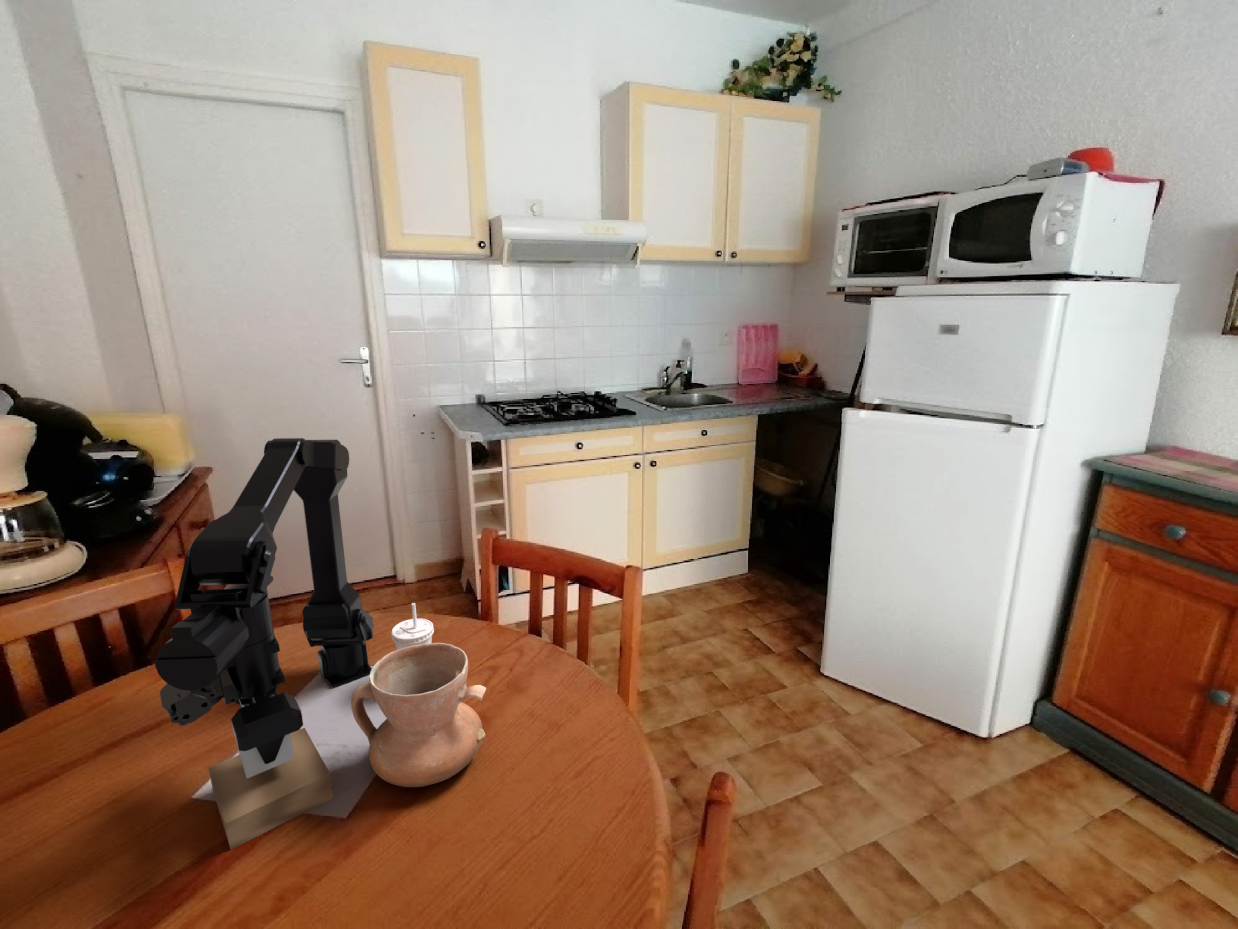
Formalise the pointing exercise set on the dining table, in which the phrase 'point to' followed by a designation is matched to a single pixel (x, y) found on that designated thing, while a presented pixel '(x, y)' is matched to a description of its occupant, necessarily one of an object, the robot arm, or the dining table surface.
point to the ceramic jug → (420, 715)
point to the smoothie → (412, 631)
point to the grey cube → (256, 764)
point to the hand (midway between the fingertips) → (265, 749)
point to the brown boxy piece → (270, 791)
